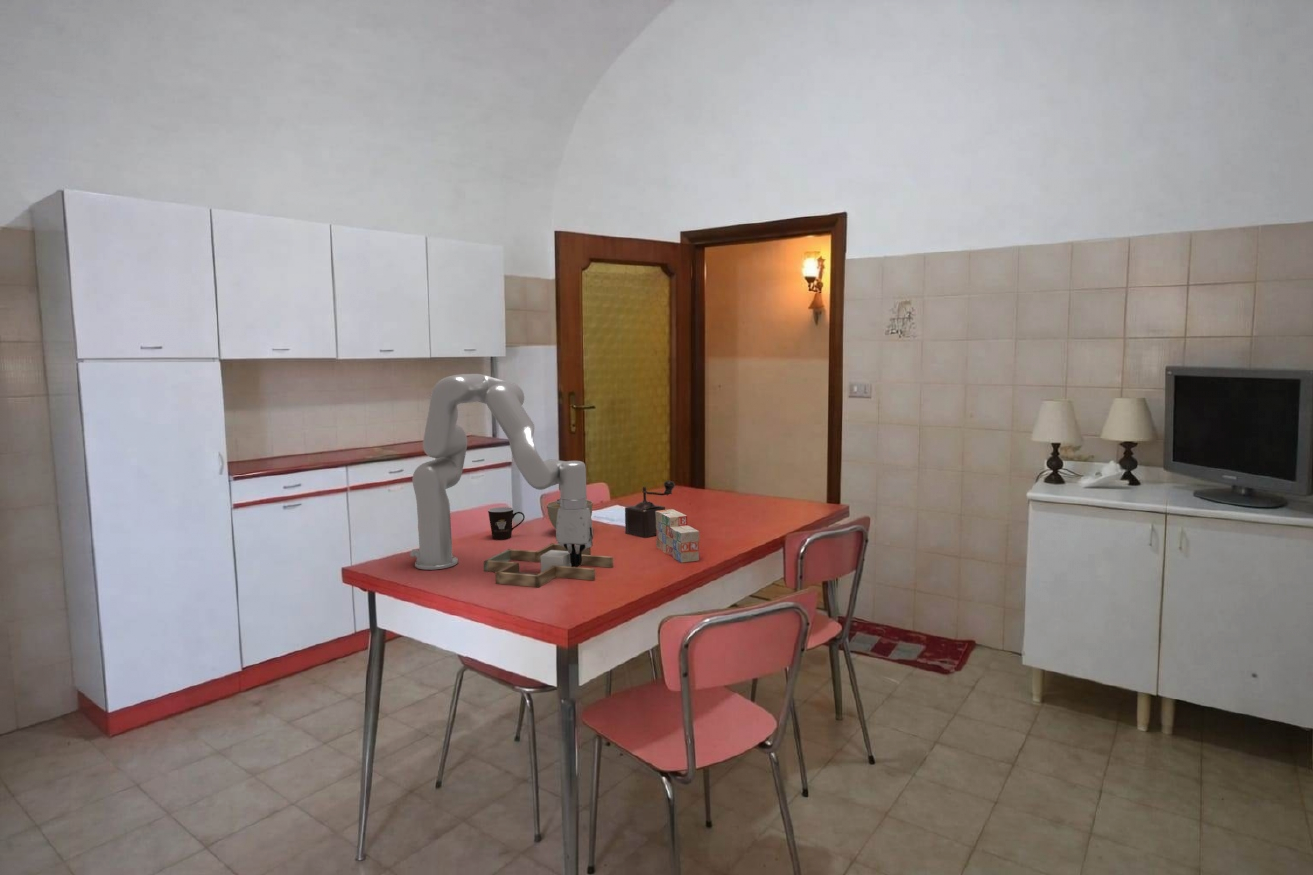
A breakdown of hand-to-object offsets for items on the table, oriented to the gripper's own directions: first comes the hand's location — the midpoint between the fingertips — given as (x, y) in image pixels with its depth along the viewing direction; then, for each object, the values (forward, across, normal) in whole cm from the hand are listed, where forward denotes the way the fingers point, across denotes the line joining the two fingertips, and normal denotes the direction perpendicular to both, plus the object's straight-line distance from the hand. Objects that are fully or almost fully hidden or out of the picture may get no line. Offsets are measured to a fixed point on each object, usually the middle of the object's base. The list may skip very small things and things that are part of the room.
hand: (576, 565), depth 225 cm
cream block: (+2, -6, -1) cm, 6 cm away
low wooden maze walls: (+2, -9, 0) cm, 9 cm away
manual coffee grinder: (+2, +5, +52) cm, 52 cm away
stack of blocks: (+2, +22, +27) cm, 35 cm away
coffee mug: (+2, -41, +31) cm, 52 cm away
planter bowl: (+2, -22, +43) cm, 49 cm away
